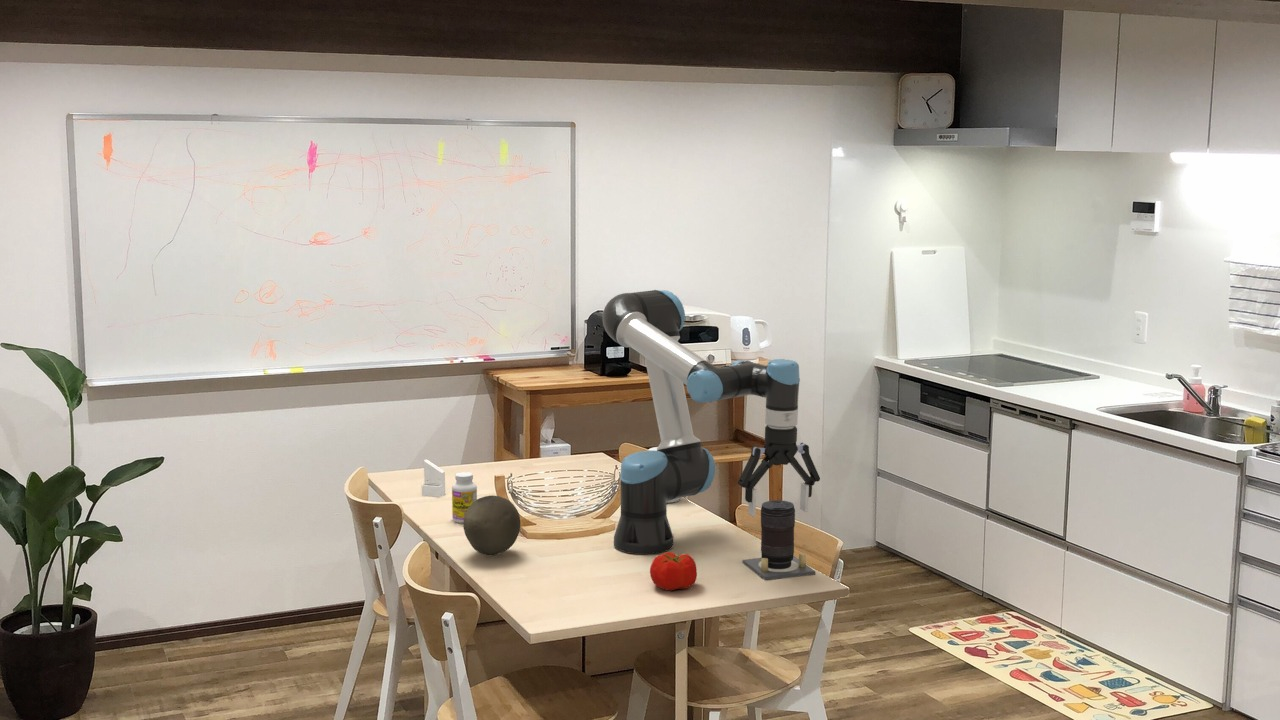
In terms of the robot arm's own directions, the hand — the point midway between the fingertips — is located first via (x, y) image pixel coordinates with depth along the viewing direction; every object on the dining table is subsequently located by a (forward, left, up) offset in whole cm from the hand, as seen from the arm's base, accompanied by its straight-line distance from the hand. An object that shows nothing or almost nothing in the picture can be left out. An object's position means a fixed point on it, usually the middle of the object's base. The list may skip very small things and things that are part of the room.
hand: (778, 512), depth 293 cm
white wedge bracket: (-68, +91, -14) cm, 114 cm away
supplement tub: (-6, +65, -14) cm, 66 cm away
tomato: (-28, -4, -14) cm, 31 cm away
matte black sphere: (-63, +31, -14) cm, 71 cm away
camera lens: (0, 0, -13) cm, 13 cm away
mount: (0, 0, -14) cm, 14 cm away
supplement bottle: (-64, +63, -14) cm, 90 cm away
